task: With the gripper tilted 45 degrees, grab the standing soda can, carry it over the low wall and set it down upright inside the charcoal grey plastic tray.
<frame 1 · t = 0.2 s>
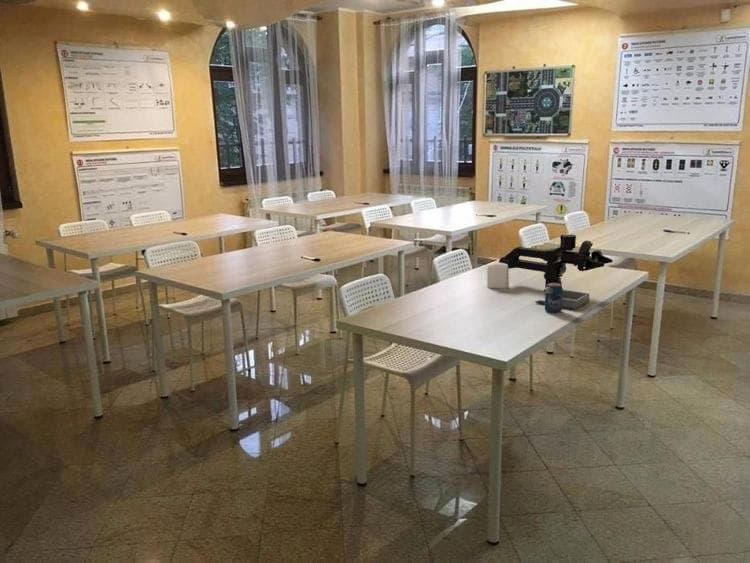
hand: (608, 262, 276), 17 cm above the table, tool horizontal, fingers open, 9 cm apart
soda can: (553, 312, 266), on the table
photo printer: (497, 288, 305), on the table
tray: (567, 303, 276), on the table
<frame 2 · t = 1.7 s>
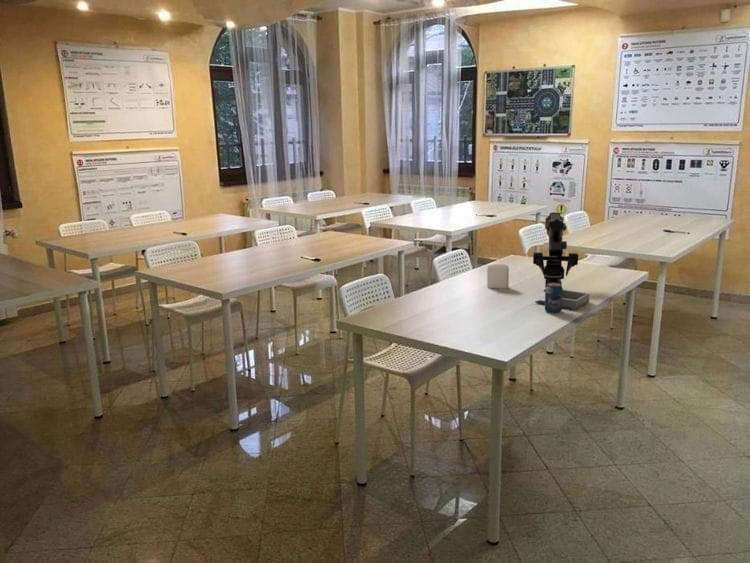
hand: (555, 275, 270), 14 cm above the table, tool tilted 45°, fingers open, 9 cm apart
nothing on the table moved.
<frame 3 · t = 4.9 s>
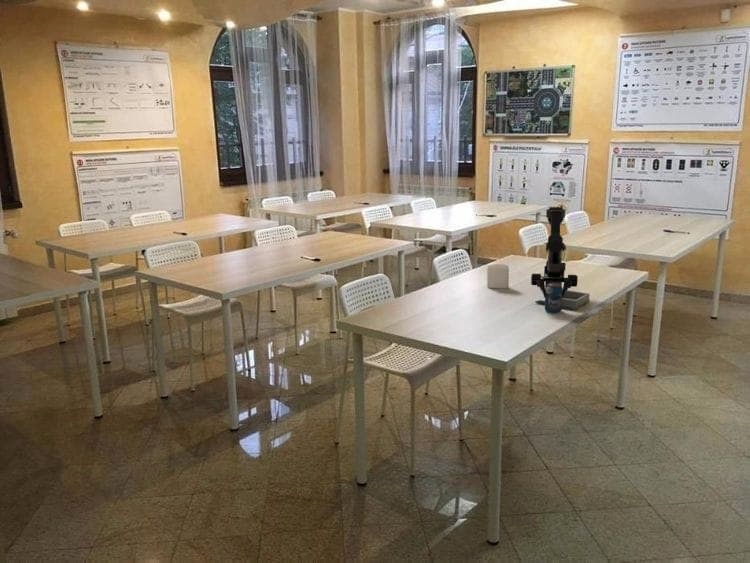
hand: (553, 297, 263), 7 cm above the table, tool tilted 45°, fingers closed on soda can, 7 cm apart
soda can: (553, 312, 266), on the table, touching gripper
everything else where it was.
when the fingers open (9 cm above the table, at t = 9.5 s): soda can drops 1 cm, resting on tray.
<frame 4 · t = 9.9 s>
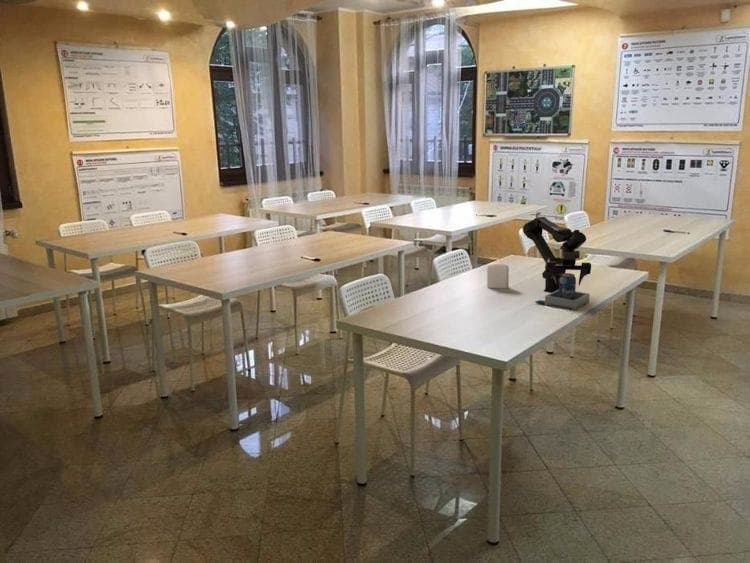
hand: (568, 284, 273), 9 cm above the table, tool tilted 45°, fingers open, 9 cm apart
soda can: (566, 301, 276), point 1 cm above the table, touching tray
everything else where it was.
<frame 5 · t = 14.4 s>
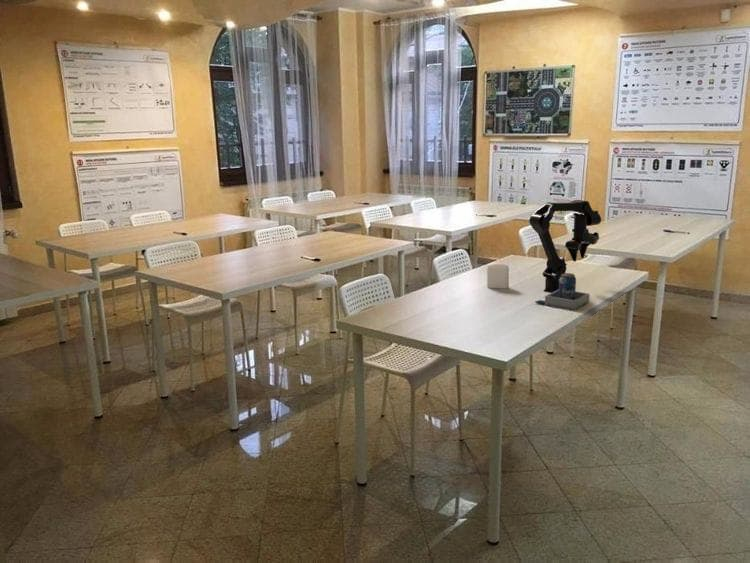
hand: (578, 259, 300), 13 cm above the table, tool pointing down, fingers open, 9 cm apart
nothing on the table moved.
at the end: soda can inside the target area on the tray (0.2 cm from its centre), point 0.8 cm above the tray's base; soda can tilted 0°; the gripper is holding nothing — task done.
